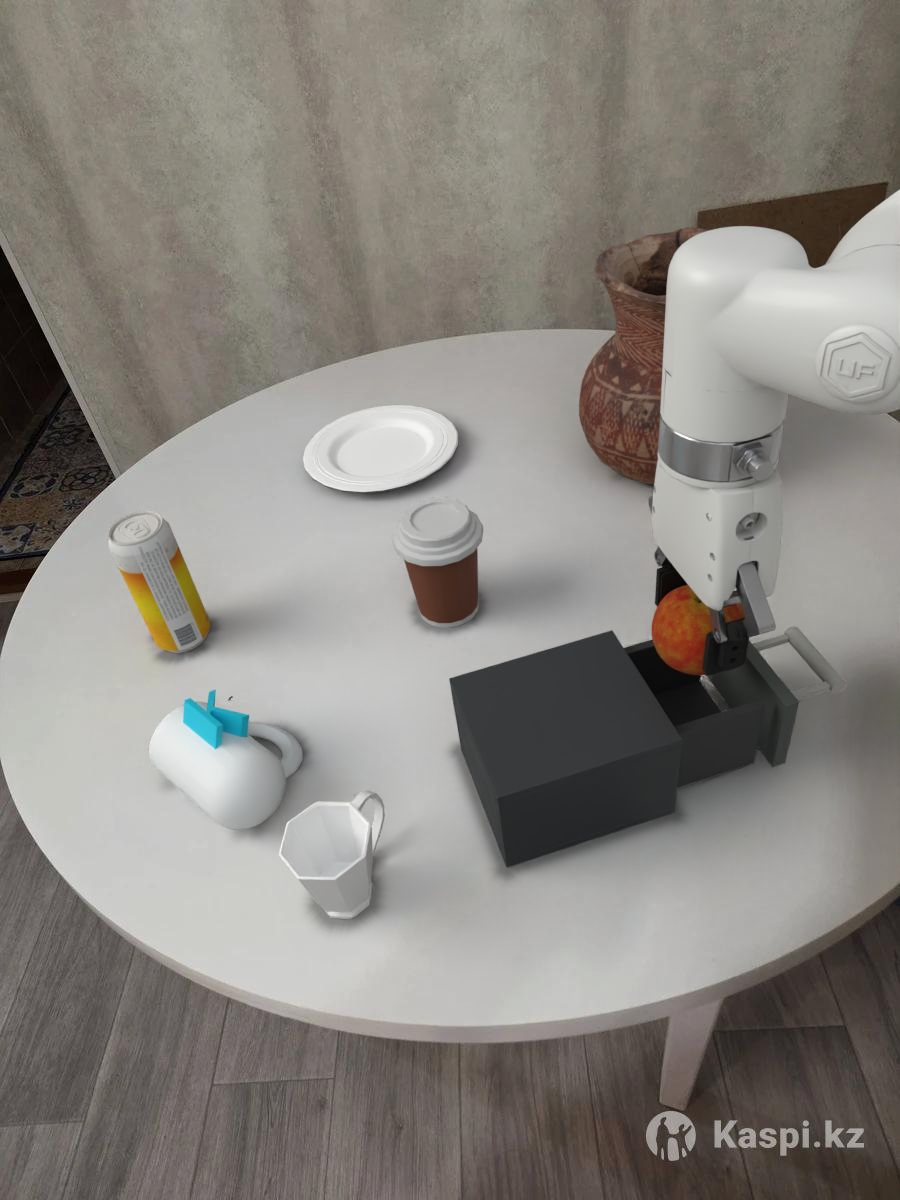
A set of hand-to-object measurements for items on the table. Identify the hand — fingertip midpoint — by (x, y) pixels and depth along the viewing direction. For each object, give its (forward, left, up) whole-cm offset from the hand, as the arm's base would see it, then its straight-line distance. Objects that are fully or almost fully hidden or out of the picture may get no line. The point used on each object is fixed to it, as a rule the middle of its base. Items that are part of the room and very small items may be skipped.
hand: (697, 632), depth 67 cm
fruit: (0, 0, -3) cm, 3 cm away
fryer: (+12, 0, -13) cm, 18 cm away
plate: (+15, -57, -14) cm, 60 cm away
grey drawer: (-2, 0, -12) cm, 13 cm away
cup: (+31, +3, -14) cm, 34 cm away
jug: (-18, -41, -14) cm, 47 cm away
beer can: (+43, -32, -14) cm, 55 cm away
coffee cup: (+15, -25, -14) cm, 32 cm away
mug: (+38, -10, -14) cm, 41 cm away
